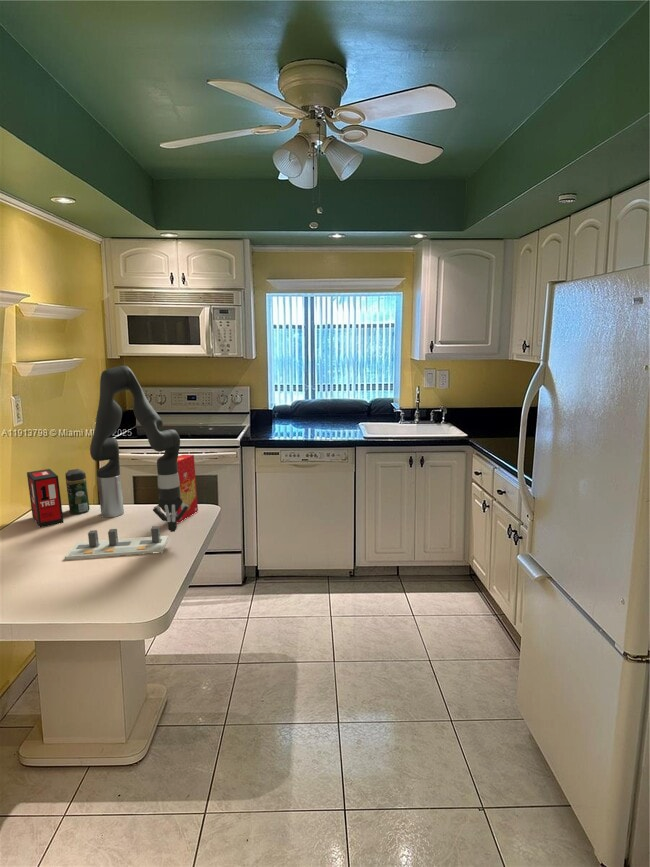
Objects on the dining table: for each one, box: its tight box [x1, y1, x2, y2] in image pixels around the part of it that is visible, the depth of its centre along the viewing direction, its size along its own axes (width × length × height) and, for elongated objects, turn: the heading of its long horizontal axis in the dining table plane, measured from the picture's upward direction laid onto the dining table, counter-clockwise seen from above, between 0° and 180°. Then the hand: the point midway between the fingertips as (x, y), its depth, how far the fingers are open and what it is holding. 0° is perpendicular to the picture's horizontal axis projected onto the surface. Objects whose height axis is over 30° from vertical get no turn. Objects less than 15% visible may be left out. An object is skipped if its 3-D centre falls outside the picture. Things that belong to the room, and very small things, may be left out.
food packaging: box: [171, 454, 199, 523], centre depth 236 cm, size 15×5×25 cm, turn 162°
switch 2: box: [150, 525, 161, 542], centre depth 207 cm, size 3×2×5 cm
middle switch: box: [107, 528, 119, 545], centre depth 206 cm, size 3×2×5 cm
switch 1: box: [87, 529, 99, 547], centre depth 205 cm, size 3×2×5 cm
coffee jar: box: [65, 468, 90, 515], centre depth 249 cm, size 10×8×19 cm
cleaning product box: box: [26, 468, 64, 528], centre depth 238 cm, size 16×9×20 cm, turn 36°
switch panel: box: [64, 535, 169, 561], centre depth 205 cm, size 14×33×2 cm, turn 97°
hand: (172, 531), depth 208 cm, fingers closed
